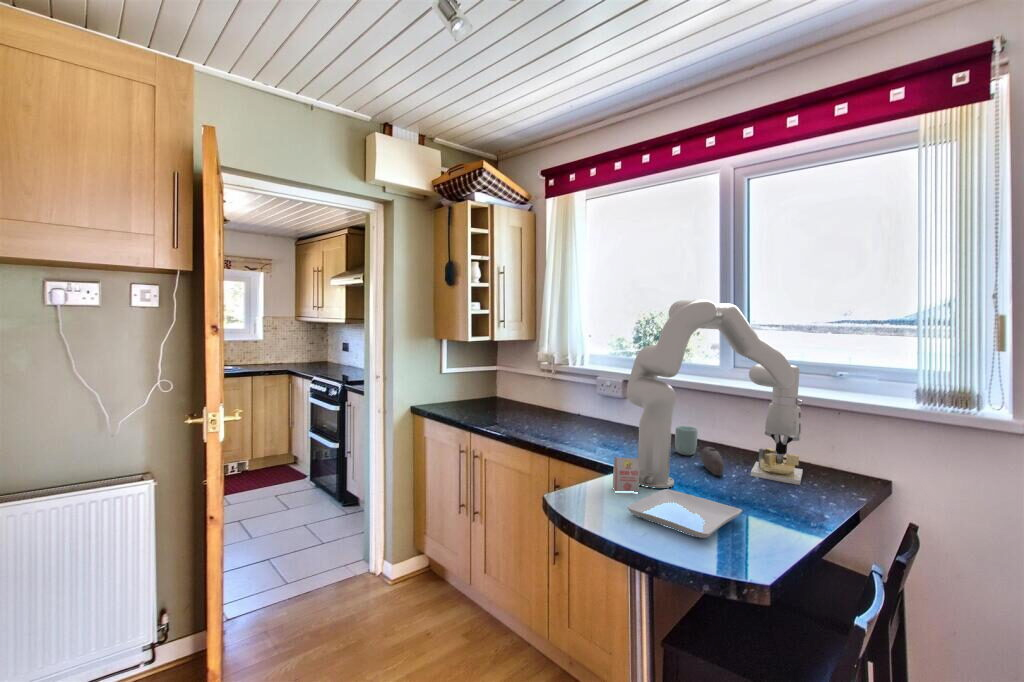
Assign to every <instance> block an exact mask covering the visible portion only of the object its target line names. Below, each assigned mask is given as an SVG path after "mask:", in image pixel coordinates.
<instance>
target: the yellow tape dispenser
mask: <svg viewBox="0 0 1024 682" xmlns="http://www.w3.org/2000/svg"><path fill="white" fill-rule="evenodd" d="M765 449H766V450H767V453H766V454H765V455H764V458H761V462H760V467H761V468H762V469H763V470H766V471H769V472H773V473H779V474H793V473H794V471H795V468H796V466H798V467H799V465H800V464H799V463H800V462H799V461H800V455H797V454H793V453H786V459H784V456H783V454H782V453H779V452H777V451H776V449H773V448H771V447H766V448H765Z"/></svg>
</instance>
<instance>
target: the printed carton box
mask: <svg viewBox="0 0 1024 682" xmlns="http://www.w3.org/2000/svg"><path fill="white" fill-rule="evenodd" d="M612 471H613V473H612V489H613V488H614V490H615V491H634V492H638V493H639V491H640V489H639V488H640V485H639V459H638V457H621V456H620V457H614V463H613V469H612Z"/></svg>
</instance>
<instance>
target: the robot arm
mask: <svg viewBox="0 0 1024 682" xmlns="http://www.w3.org/2000/svg"><path fill="white" fill-rule="evenodd" d="M661 329H662V330H661V332H660V334H659V338H658V340H657V343H656V344H651V345H650V344H649V345H646V346H644V347H642V348H641V349H640V350H639V352H638V353H637V354H636V356H635V359H634V362H633V366H632V369H631V372H630V374H629V375H630V376H629V379H628V382H627V386H626V397H627V399H628V400H629V402H630V403H631V404H633V405H635V406H637V407H640V408H642V409H643V411H642V414H641V416H640V420H639V422H638V423H639V424H638V446H637V448H638V449H637V458H638V459H639V484H641V485H644V486H648V487H655V488H667V489H670V488H669V487H671V488H673V487H674V486H675V480H674V479H673V478H672V477H670V469H671V467H670V465H671V447H672V445H671V443H672V425H673V415H674V411H675V407H676V404H677V395H676V392H675V388H673V387H672V386H671V384H669V383H667V382H665V381H662V380H658V377H661V378H669V379H670V378H674V377H675V376H677V375H678V374H679V372H680V369H681V367H682V365H683V364H682V363H683V360H684V357H685V353H686V351H687V347H688V345H689V341H690V340H691V337H692V335H693V334H694V333H695V332H696V331H697V330H698V329H705V330H718V331H719V332H720V334H721V335H722V336H723V338H724V339H725V341H726V342H727V344H728V345H729V347H730V348H731V349H732V350H733V352H735V353H737V354H738V355H740V356H742V357H744V358H746V359H748V360H751V361H753V362H755V363H756V364H754V365H753V366H752V367H751V368H749V371H748V377H749V380H750V381H751V382H752V383H754V384H756V385H757V386H762V387H766V388H767V387H768V388H769V387H770V388H772V392H771V393H772V394H771V402H770V403H769V405H768V408H767V412H766V416H765V417H766V418H765V425H764V426H765V431H764V435H766V436H768V437H770V438H771V439H772V440H773V441H774V443H775V450H776V451H777V452H779V453H782V454H783V457H784V456H785V455H787V454H788V453H787V452H788V444H790V443H791V442H799V441H801V434H802V414H801V413H802V412H801V406H798V405H803V400H802V399H799V385H800V383H799V382H800V367H798V366H797V365H793V364H790V362H789V361H788V359H787V358H786V357H785V356H784V355H783V353H781V352H780V351H779V350H778V349H777V348H775V346H773V345H772V344H770V343H768V342H767V341H766V340H764V339H763V338H761V337H759V336H758V334H757V332H756V331H755V330H754V329H753V327H752V326H751V324H750V323H749V321H748V320H747V318H746V317H745V316H744V314H743V312H742V311H741V310H740V308H739V307H738V306H737V305H735V304H732V303H727V302H726V303H714V302H713V301H712V300H709V299H703V298H702V299H683V300H678V301H675V302H673V303H672V304H671V305H670V307H669V310H668V319H667V320H666V321H665V324H664V325H663V327H662V328H661ZM782 436H783V439H782ZM672 486H673V487H672Z"/></svg>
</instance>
